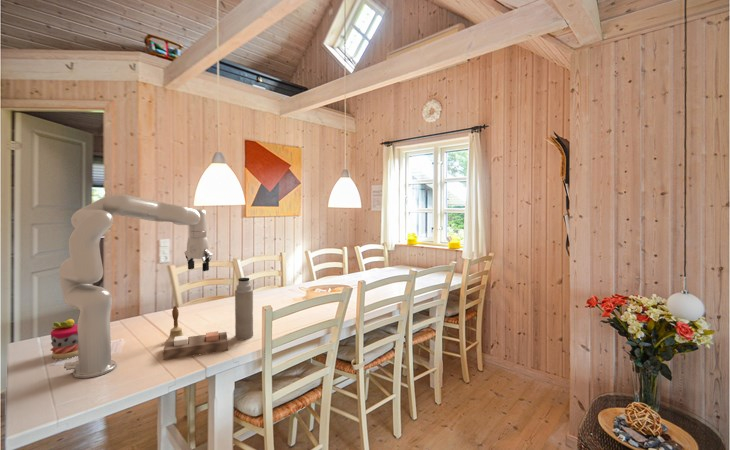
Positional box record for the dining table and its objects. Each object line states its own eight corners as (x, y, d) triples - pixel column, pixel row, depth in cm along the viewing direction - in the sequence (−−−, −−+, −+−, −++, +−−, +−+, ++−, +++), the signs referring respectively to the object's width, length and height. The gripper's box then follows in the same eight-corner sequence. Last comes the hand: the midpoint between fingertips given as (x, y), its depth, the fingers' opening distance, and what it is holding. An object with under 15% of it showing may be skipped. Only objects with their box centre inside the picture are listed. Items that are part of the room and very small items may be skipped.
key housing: (163, 360, 137) (163, 350, 137) (166, 348, 148) (166, 339, 148) (227, 350, 147) (227, 341, 147) (226, 340, 158) (226, 331, 158)
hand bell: (177, 344, 153) (176, 309, 152) (161, 343, 154) (160, 308, 154) (190, 337, 161) (190, 304, 160) (175, 336, 163) (174, 303, 162)
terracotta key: (206, 343, 147) (205, 336, 147) (206, 339, 151) (205, 332, 151) (218, 341, 149) (218, 335, 149) (218, 337, 153) (218, 331, 153)
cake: (57, 351, 144) (56, 316, 143) (88, 347, 148) (87, 313, 148) (46, 362, 135) (45, 324, 134) (79, 357, 139) (78, 321, 138)
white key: (174, 348, 142) (173, 341, 142) (175, 343, 146) (174, 336, 146) (187, 346, 144) (187, 339, 144) (188, 341, 148) (188, 335, 148)
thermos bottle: (247, 332, 169) (247, 275, 168) (256, 336, 164) (256, 278, 162) (232, 336, 163) (231, 278, 162) (240, 341, 158) (240, 280, 156)
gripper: (178, 234, 166) (178, 269, 167) (204, 236, 159) (205, 272, 160) (191, 233, 173) (192, 267, 174) (217, 235, 166) (217, 270, 167)
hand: (198, 269), depth 167 cm, fingers open, 9 cm apart
